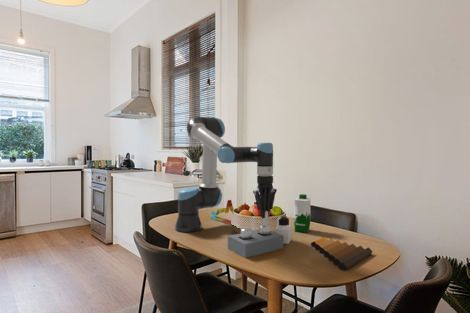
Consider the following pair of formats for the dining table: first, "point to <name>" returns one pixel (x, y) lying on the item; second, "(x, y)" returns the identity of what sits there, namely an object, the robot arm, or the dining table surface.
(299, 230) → the milk carton
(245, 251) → the peg block
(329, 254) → the pan flute
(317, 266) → the dining table surface
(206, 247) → the dining table surface
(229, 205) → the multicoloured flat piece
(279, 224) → the medicine bottle
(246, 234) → the steel peg
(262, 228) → the steel peg
